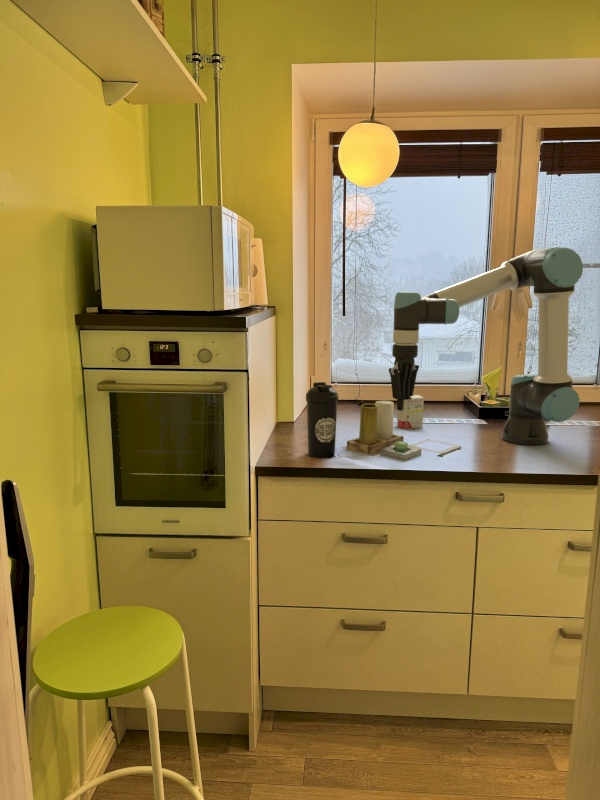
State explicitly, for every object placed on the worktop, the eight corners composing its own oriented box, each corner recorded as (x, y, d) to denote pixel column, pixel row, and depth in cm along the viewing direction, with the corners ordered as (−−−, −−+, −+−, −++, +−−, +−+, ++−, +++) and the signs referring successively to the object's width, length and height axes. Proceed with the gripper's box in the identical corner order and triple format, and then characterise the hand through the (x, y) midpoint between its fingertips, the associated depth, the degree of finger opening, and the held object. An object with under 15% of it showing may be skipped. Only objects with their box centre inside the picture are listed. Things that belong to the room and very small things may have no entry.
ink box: (401, 428, 221) (402, 398, 219) (397, 425, 226) (398, 395, 224) (423, 428, 223) (424, 397, 220) (418, 424, 227) (419, 394, 225)
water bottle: (311, 460, 182) (311, 387, 177) (301, 451, 191) (302, 381, 187) (341, 458, 185) (343, 385, 180) (331, 449, 194) (332, 380, 190)
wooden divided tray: (408, 447, 196) (408, 437, 195) (373, 459, 183) (373, 448, 182) (377, 440, 205) (377, 430, 204) (341, 451, 192) (341, 440, 191)
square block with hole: (421, 458, 185) (421, 449, 184) (404, 464, 178) (404, 454, 178) (397, 452, 191) (397, 443, 190) (380, 458, 185) (380, 448, 184)
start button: (410, 449, 184) (410, 443, 184) (402, 451, 181) (403, 445, 181) (399, 446, 187) (399, 440, 187) (392, 449, 184) (392, 443, 184)
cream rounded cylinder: (395, 443, 197) (397, 402, 194) (385, 447, 193) (386, 405, 190) (381, 440, 201) (382, 399, 198) (370, 443, 197) (371, 402, 194)
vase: (375, 445, 194) (376, 403, 191) (378, 451, 188) (380, 407, 185) (357, 446, 194) (358, 403, 191) (359, 451, 188) (360, 407, 185)
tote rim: (460, 449, 194) (461, 446, 194) (441, 457, 186) (441, 453, 186) (427, 442, 203) (427, 438, 203) (407, 448, 195) (407, 445, 195)
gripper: (407, 341, 185) (403, 414, 189) (382, 344, 176) (379, 421, 180) (427, 343, 180) (423, 418, 184) (403, 346, 170) (399, 425, 175)
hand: (401, 419), depth 182 cm, fingers closed
